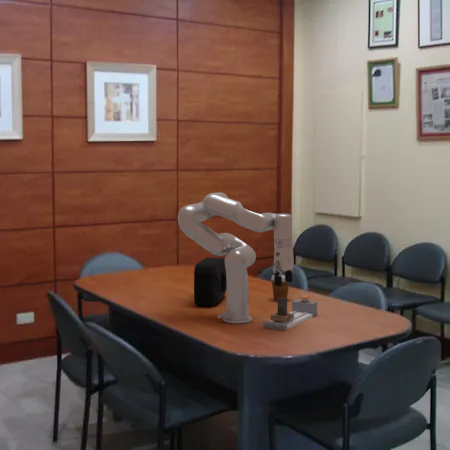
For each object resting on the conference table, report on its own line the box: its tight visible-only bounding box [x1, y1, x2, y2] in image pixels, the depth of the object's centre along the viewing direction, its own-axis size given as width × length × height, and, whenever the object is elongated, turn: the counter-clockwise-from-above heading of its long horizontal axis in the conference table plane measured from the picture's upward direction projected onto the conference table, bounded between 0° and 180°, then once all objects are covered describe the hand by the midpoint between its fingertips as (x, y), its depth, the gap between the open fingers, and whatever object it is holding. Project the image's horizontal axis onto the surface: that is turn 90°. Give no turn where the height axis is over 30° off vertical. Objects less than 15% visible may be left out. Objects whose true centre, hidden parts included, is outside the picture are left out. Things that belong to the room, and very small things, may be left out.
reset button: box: [299, 294, 311, 302], centre depth 319 cm, size 4×4×2 cm
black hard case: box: [193, 257, 227, 307], centre depth 347 cm, size 30×12×20 cm, turn 168°
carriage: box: [270, 297, 294, 322], centre depth 301 cm, size 8×7×9 cm
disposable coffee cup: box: [270, 274, 290, 302], centre depth 349 cm, size 10×10×12 cm
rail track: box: [262, 298, 318, 332], centre depth 308 cm, size 32×10×6 cm, turn 148°
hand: (283, 283), depth 299 cm, fingers open, 9 cm apart
